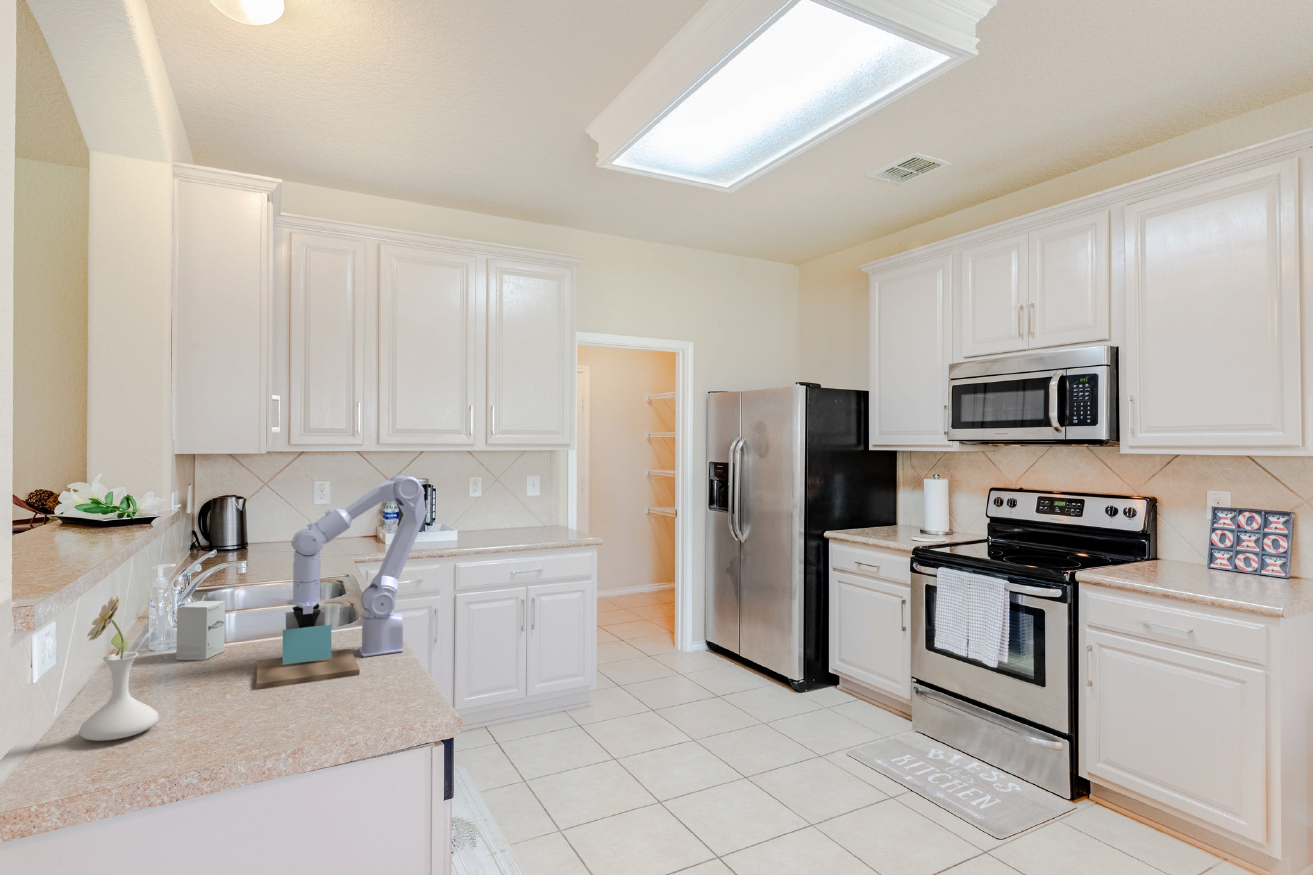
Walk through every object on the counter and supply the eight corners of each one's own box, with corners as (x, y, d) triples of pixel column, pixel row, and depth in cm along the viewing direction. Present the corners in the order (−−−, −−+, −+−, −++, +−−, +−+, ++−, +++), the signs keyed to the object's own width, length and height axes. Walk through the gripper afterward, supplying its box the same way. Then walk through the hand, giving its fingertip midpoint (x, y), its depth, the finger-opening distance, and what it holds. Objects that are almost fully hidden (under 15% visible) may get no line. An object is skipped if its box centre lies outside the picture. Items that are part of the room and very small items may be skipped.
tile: (330, 624, 165) (331, 624, 165) (331, 658, 164) (331, 658, 163) (282, 629, 160) (282, 629, 160) (282, 664, 159) (282, 664, 158)
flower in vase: (90, 726, 128) (92, 588, 128) (165, 717, 132) (167, 584, 133) (64, 756, 116) (66, 604, 116) (148, 744, 121) (149, 598, 121)
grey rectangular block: (323, 645, 169) (323, 608, 169) (324, 649, 166) (324, 611, 166) (286, 650, 166) (285, 612, 166) (286, 654, 162) (285, 615, 162)
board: (350, 653, 173) (350, 648, 173) (359, 674, 157) (359, 669, 157) (257, 665, 163) (257, 660, 163) (256, 689, 147) (256, 683, 148)
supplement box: (205, 660, 167) (206, 607, 167) (175, 660, 167) (175, 606, 167) (225, 651, 174) (226, 600, 174) (196, 651, 174) (196, 600, 174)
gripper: (286, 576, 171) (286, 632, 170) (288, 587, 158) (287, 648, 158) (319, 574, 174) (318, 629, 174) (323, 584, 161) (322, 644, 161)
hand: (306, 638), depth 166 cm, fingers closed on grey rectangular block, 3 cm apart
